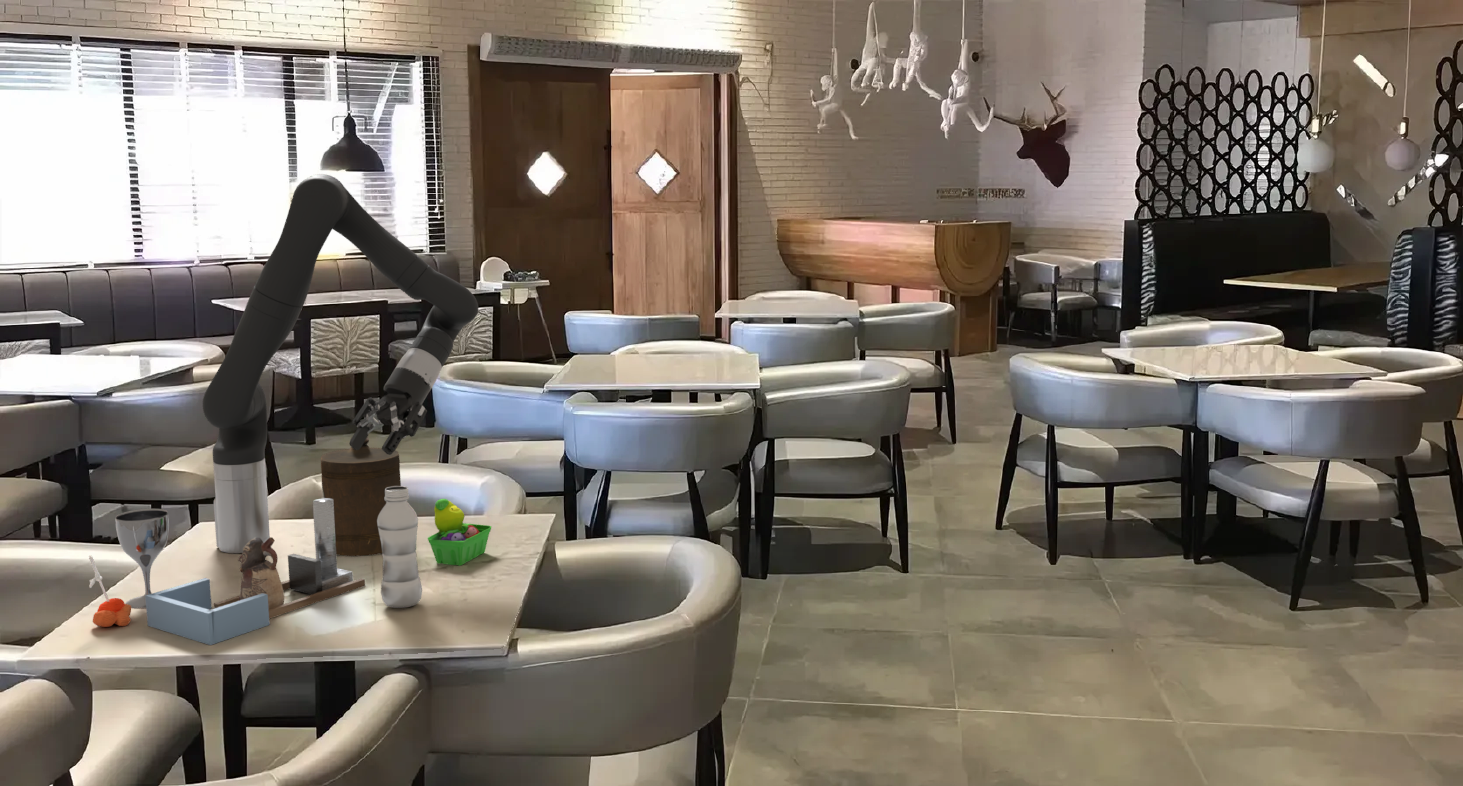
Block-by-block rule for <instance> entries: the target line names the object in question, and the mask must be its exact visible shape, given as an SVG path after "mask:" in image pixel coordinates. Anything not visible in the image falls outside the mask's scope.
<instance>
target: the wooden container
mask: <svg viewBox="0 0 1463 786" xmlns="http://www.w3.org/2000/svg"><path fill="white" fill-rule="evenodd" d="M369 441H370V439H369V436H368V437H367V438H366V440H365V441H364V443H363V445H362V446H361V448H360V449H359V450H354V449H353V448H352V447H351V446H350V448H344V449H338V450H333V451H330V452H327V453H324V454H322V455H321V456H320V470H321V471H320V472H321V499H322V498H330V499H333V502H334V520H335V538H336V556H341V557H342V556H343V557H365V556H366V557H367V556H375V555H381V554H383V552H382V546H381V540H380V535H379V530H378V525H377V519H378V515H379V513H380V512H381V510H382V509H383V507H384V506H385V505H386V501H385V500H384V497H385V489H386V488H388V487H393V486H402V483H401V468H400V467H401V463H400V454H399V453H400V452H399V451H397V450H395V451H394V452H393V453H392V454H391V455H388V454H386V453H385V452H384V451H383V450H382V447H370V446H368V443H369Z"/></svg>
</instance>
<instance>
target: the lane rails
mask: <svg viewBox="0 0 1463 786" xmlns="http://www.w3.org/2000/svg"><path fill="white" fill-rule="evenodd" d="M281 584H282V588H283V592H284V591H287V590H291V589H290V584H289V579H287V580H284V581H281ZM365 586H366V579H364V578H358V579H356V580H353V581H352V582H349V583H346V584H343V585H340V586H337V587H334V588H330V589H327V590H324V591H321V592H318V593H315V594H312V595H311V594H308V595H307V596H304V597H300V598H298V599H294V600H293V601H288V602H286V603H285V602H284V604H282V605H279V606H276V607H273V608H270V609H269V619H272V618H275V617H279V616H280V615H283V614H286V613H287V614H288V613H290V612H293V611H295V610H298V609H302V608H304V607H307V606H310V605H313V604H316V603H320V602H321V601H325V600H328V599H331V598H334V597H337V596H340V595H342V594H346V593H348V592H351V591H354V590H358V589H361V588H363V587H365ZM239 596H240V594H239V595H237V596H233V597H230V598H226V599H224V600H221V601H220V600H219V601H218V602H214V603H213V607H214V608H213V609H215V608H218V607H221V606H224V605H227V604H230V603H234V602H237V601H239Z"/></svg>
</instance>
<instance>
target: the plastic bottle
mask: <svg viewBox="0 0 1463 786" xmlns="http://www.w3.org/2000/svg"><path fill="white" fill-rule="evenodd" d="M384 500H385V501H386V505H385V506H384V507H383V509H382V510H381V512H380V513H379V515H378V519H377V525H378V530H379V535H380V540H381V546H382V552H383V553H381V554H382V580H381V583H380V584H381V586H380V594H381V595H380V596H381V599H382V602H383V603H384V605H386V607H389V608H396V609H401V608H402V609H403V608H404V609H405V608H409V607H413V606H416V605H417V604H419V603H420V600H421V599H422V594H423V587H422V581H421V578H420V574H419V566H418V559H417V537H418V529H419V528H418V524H419V518H418V515H417V512H416V511H415V509H414V508H413V507H412V506H411V505H410V503H409V502H408V500H410V495H409V487H407V486H404V485H401V486H393V487H388V488H386V489H385V497H384Z"/></svg>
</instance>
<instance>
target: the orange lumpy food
mask: <svg viewBox="0 0 1463 786" xmlns="http://www.w3.org/2000/svg"><path fill="white" fill-rule="evenodd" d="M88 559H89V562H90V564H91V567H92V569H93V571H94V577H93V578H91V579H89V586H88V587H89V589H92V587H93V586H94V585H95V583H96V582H99V583H98V584H99V586H100V588H101V591H102V594H103V595H104V598H105V599H106V600H105V601H104V602H102V603H101V604H99V606H98V608H97V611H96V612H94V614H93V617H92V623H93V624H94V625H95V626H99V627H103V628H108V627H109V628H110V627H113V625H114V624H115V625H117V626H119V627H126V626H128V625H129V624H130V623H131V621H132V620H131V618H130V616H131V613H132V608H131V605H128V604H125V603H126V602H125V601H124V600H123V599H121V598H119V597H113V598H109V596H108V595H107V592H106V589H105V587H104V584H103V581H102V580H103V576H101V574H100V572H99V570H98V568H97V565H96V562H95V560H94V557H93V556H92V555H89V556H88Z"/></svg>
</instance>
